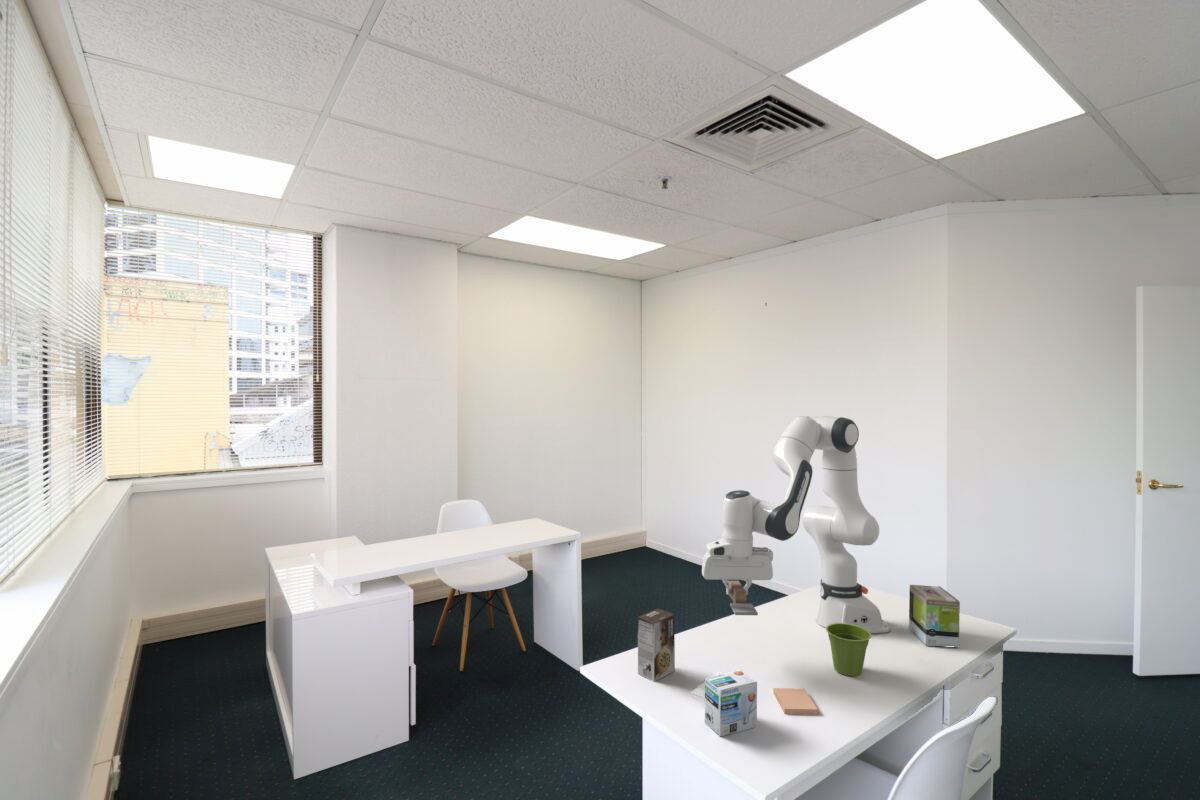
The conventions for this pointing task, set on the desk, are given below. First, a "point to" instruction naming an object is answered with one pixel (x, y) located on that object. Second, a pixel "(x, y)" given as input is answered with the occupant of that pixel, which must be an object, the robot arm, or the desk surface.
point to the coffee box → (656, 644)
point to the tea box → (934, 615)
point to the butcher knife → (701, 689)
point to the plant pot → (848, 647)
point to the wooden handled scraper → (740, 600)
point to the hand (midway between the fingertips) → (736, 594)
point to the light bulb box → (730, 702)
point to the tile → (795, 701)
